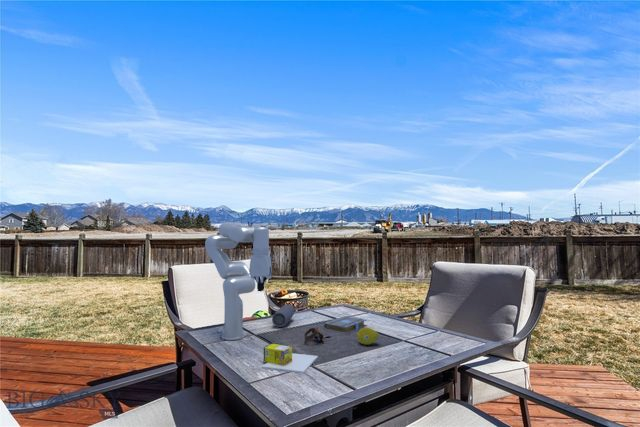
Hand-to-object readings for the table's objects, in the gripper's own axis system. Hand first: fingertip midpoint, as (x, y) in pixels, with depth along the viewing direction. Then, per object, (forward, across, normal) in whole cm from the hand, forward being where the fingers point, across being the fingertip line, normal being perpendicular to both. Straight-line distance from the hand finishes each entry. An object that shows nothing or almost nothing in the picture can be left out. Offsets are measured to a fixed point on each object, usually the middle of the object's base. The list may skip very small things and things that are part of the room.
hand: (260, 290), depth 167 cm
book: (+28, +31, +46) cm, 62 cm away
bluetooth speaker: (+27, -7, +44) cm, 52 cm away
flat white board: (+27, +21, -13) cm, 37 cm away
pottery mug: (+27, +22, +16) cm, 39 cm away
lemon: (+27, +48, +20) cm, 59 cm away
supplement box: (+24, +10, -14) cm, 29 cm away
